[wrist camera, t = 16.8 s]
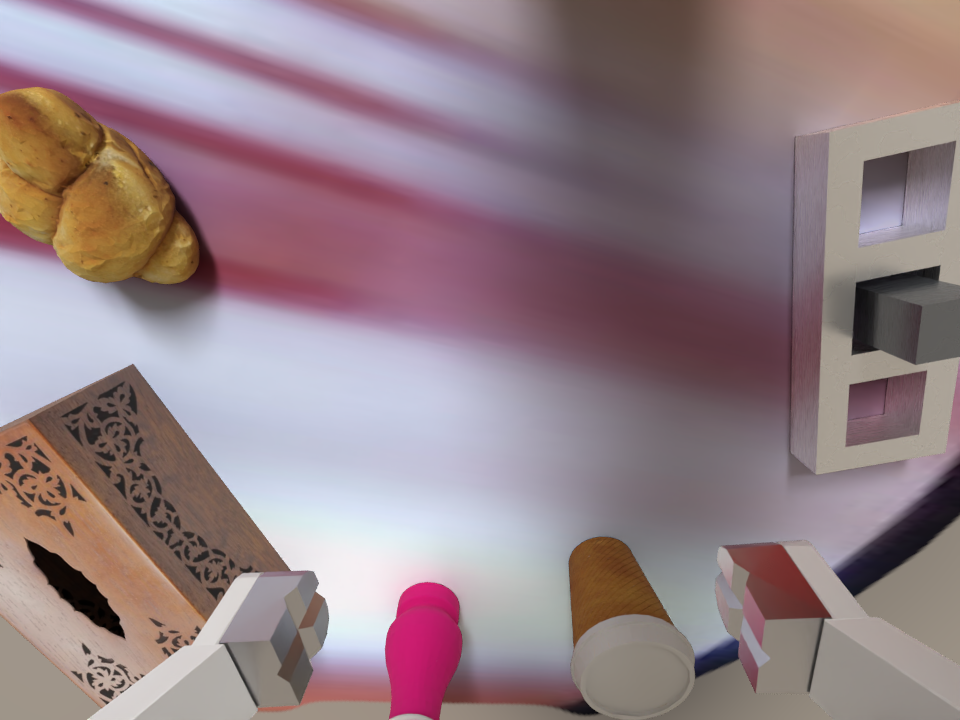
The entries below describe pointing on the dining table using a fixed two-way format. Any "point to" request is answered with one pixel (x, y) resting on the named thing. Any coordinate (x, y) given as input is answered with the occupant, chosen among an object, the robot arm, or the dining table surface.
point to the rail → (857, 257)
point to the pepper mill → (422, 651)
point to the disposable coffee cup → (624, 636)
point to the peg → (908, 317)
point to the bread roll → (89, 193)
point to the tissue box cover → (115, 534)
